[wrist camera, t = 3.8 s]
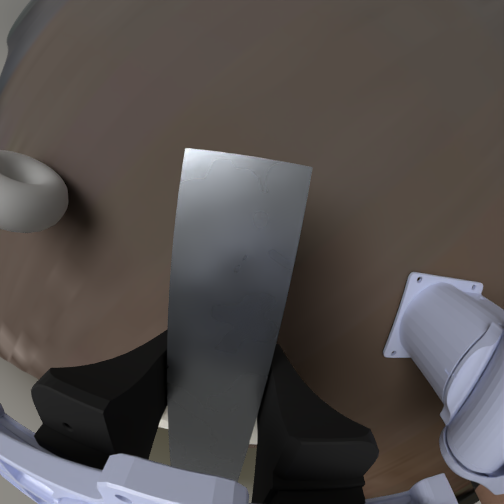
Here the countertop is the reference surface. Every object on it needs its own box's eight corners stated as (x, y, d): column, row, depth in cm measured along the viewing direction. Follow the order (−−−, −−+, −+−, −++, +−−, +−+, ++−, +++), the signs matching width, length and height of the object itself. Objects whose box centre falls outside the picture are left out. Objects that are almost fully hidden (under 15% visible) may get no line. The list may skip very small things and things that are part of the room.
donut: (97, 192, 20) (6, 206, 10) (82, 228, 21) (-4, 259, 11) (31, 145, 19) (-48, 143, 9) (20, 177, 20) (-57, 186, 10)
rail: (294, 172, 12) (312, 167, 7) (241, 430, 16) (234, 490, 11) (215, 160, 12) (185, 148, 7) (189, 420, 16) (171, 478, 11)
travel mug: (492, 439, 27) (531, 505, 8) (460, 463, 29) (493, 534, 9) (492, 424, 26) (539, 498, 7) (456, 452, 27) (495, 533, 8)
